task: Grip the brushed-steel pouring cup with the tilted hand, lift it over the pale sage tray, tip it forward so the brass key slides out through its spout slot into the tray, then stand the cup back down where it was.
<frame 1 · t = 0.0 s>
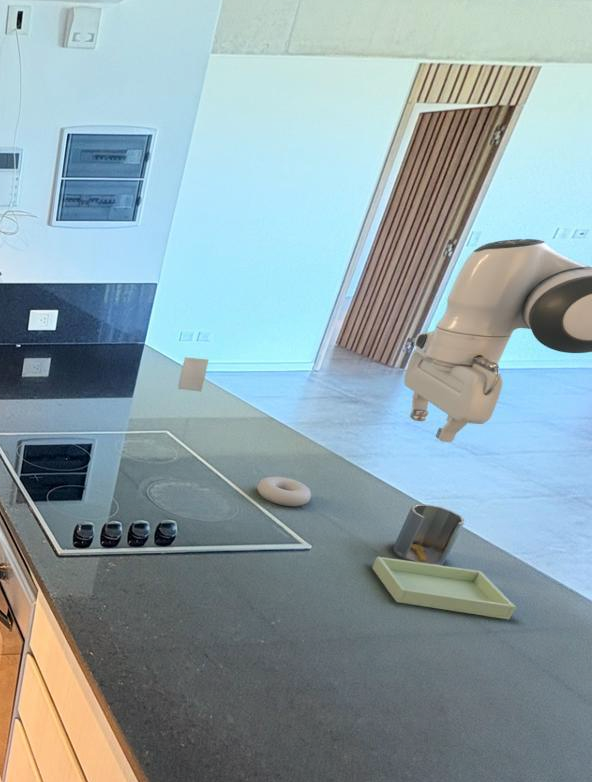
hand: (429, 429, 103), 25 cm above the worktop, tool pointing down, fingers open, 8 cm apart
pinkish tan block: (189, 389, 201), on the worktop
steel cup: (417, 556, 114), on the worktop, touching key
key: (419, 553, 114), point 1 cm above the worktop, touching steel cup
tray: (436, 592, 104), on the worktop
donut: (281, 498, 134), on the worktop
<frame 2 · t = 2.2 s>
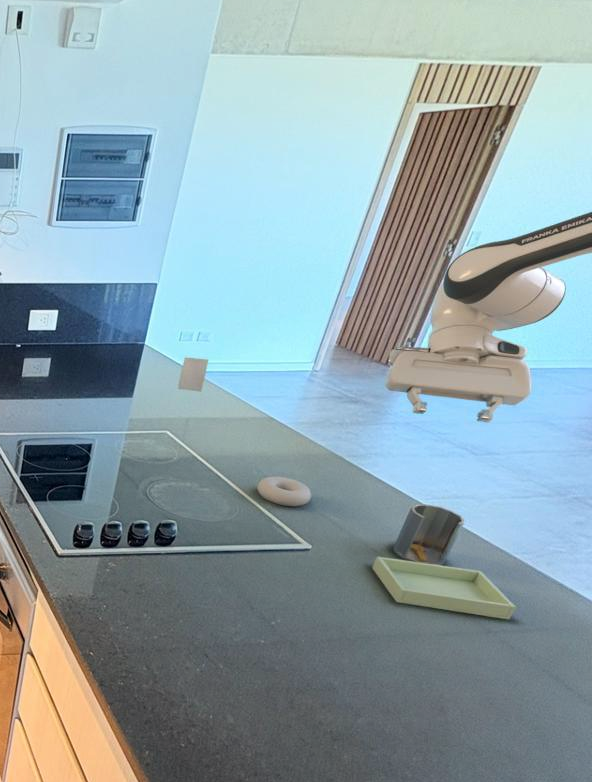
hand: (451, 416, 113), 23 cm above the worktop, tool tilted 45°, fingers open, 8 cm apart
nothing on the worktop moved.
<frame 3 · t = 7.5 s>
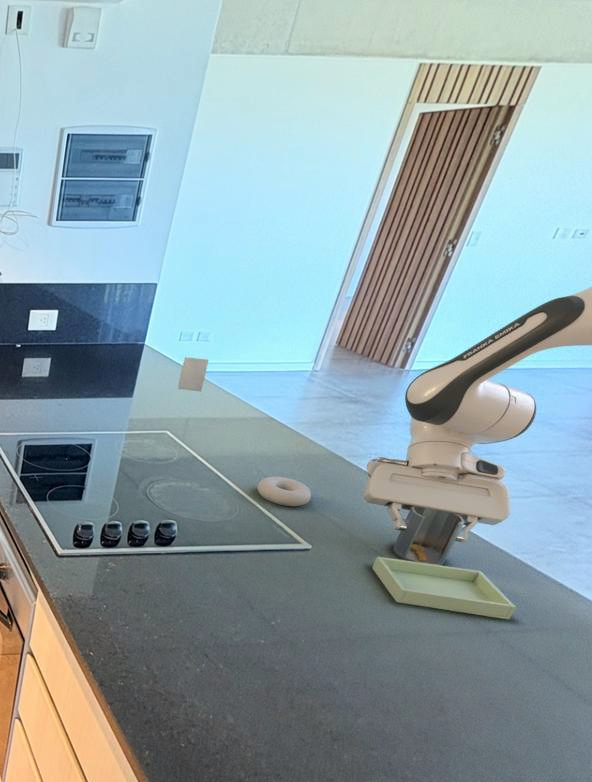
hand: (429, 535, 111), 5 cm above the worktop, tool tilted 45°, fingers closed on steel cup, 7 cm apart
steel cup: (417, 556, 114), on the worktop, touching gripper, key
everything else where it was.
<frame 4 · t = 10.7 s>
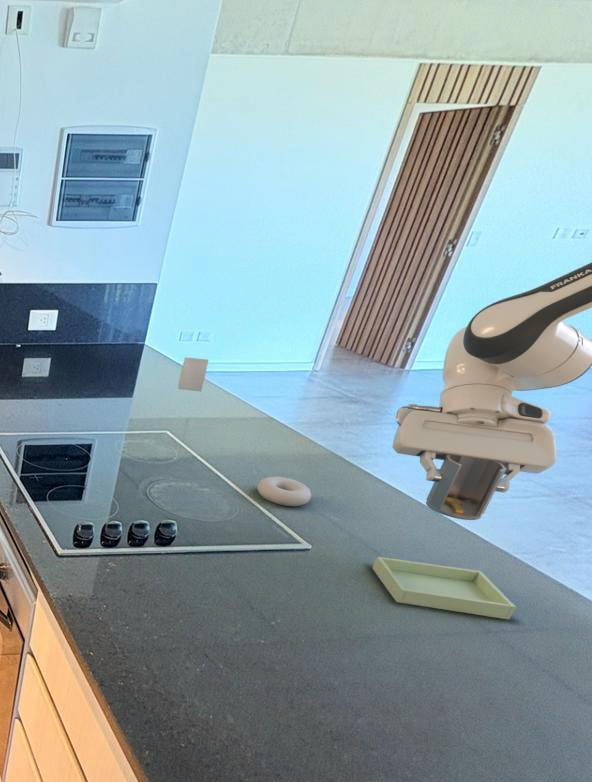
hand: (466, 485, 102), 17 cm above the worktop, tool tilted 45°, fingers closed on steel cup, 7 cm apart
steel cup: (452, 509, 105), point 12 cm above the worktop, touching gripper, key
key: (454, 506, 105), point 13 cm above the worktop, touching steel cup
everything else where it was.
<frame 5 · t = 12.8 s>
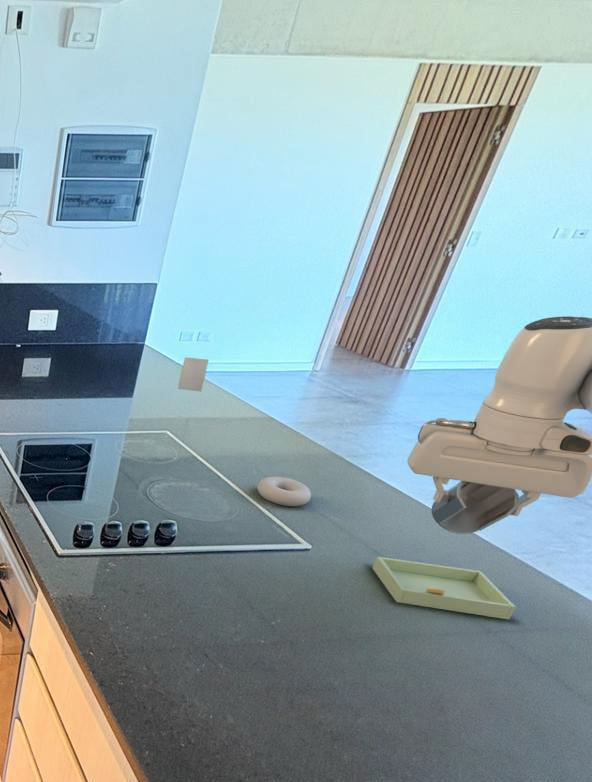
hand: (474, 507, 98), 16 cm above the worktop, tool pointing down, fingers closed on steel cup, 7 cm apart
steel cup: (458, 513, 103), point 13 cm above the worktop, tilted 45°, touching gripper
key: (437, 590, 101), point 2 cm above the worktop, tilted 143°, touching tray
everything else where it was.
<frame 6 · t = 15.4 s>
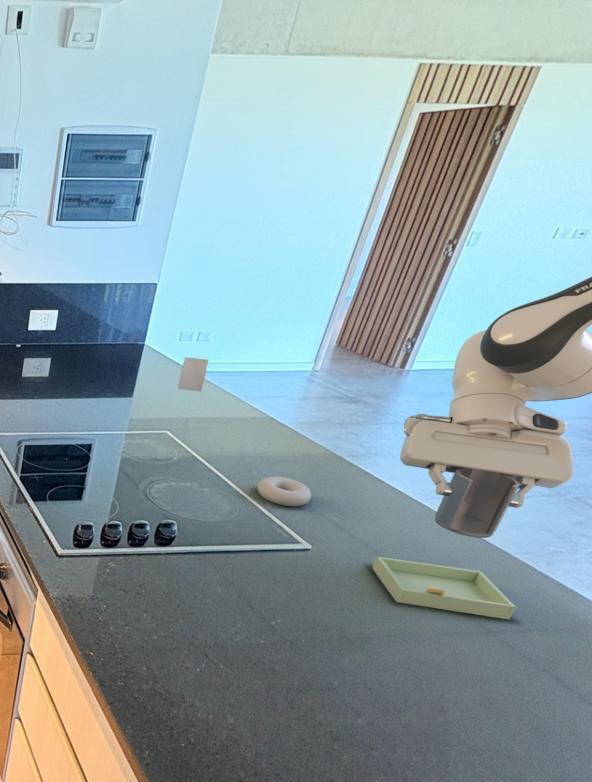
hand: (478, 500, 97), 17 cm above the worktop, tool tilted 45°, fingers closed on steel cup, 7 cm apart
steel cup: (463, 526, 100), point 12 cm above the worktop, touching gripper
everything else where it was.
when the fingers open (5 cm above the worktop, at t = 21.0 s): steel cup stays where it is, on the worktop.
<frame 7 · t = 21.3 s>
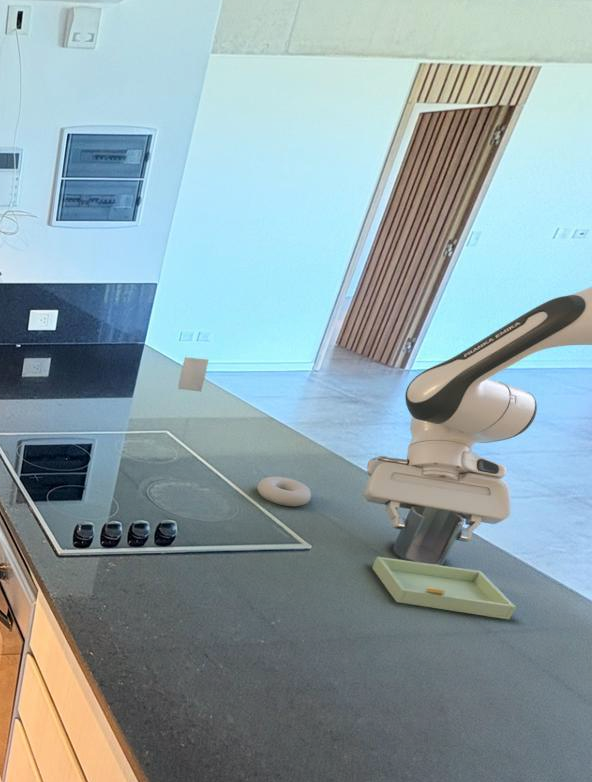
hand: (429, 534, 111), 5 cm above the worktop, tool tilted 45°, fingers open, 8 cm apart
steel cup: (417, 556, 114), on the worktop
everything else where it was.
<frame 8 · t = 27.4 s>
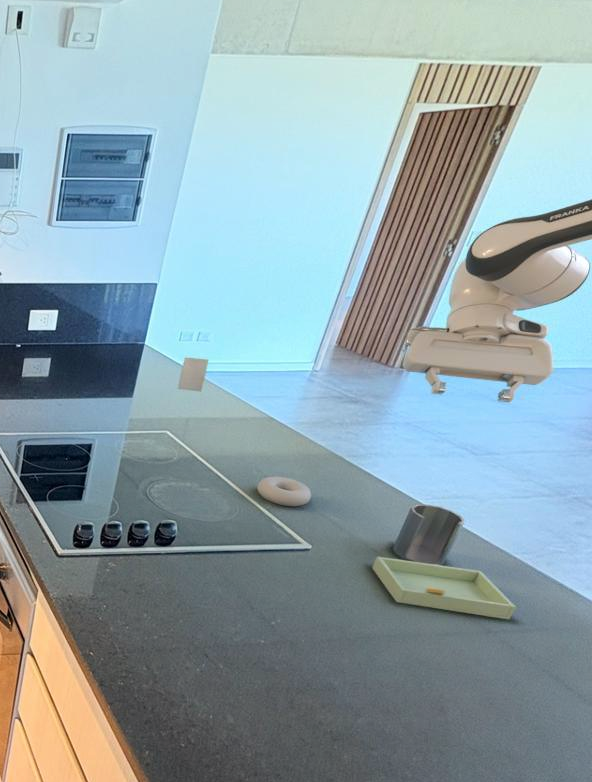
hand: (471, 396, 111), 27 cm above the worktop, tool tilted 45°, fingers open, 8 cm apart
nothing on the worktop moved.
at the end: key inside the target area in the tray (3.9 cm from its centre), point 2.3 cm above the tray's base; steel cup tilted 0°; the gripper is holding nothing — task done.
